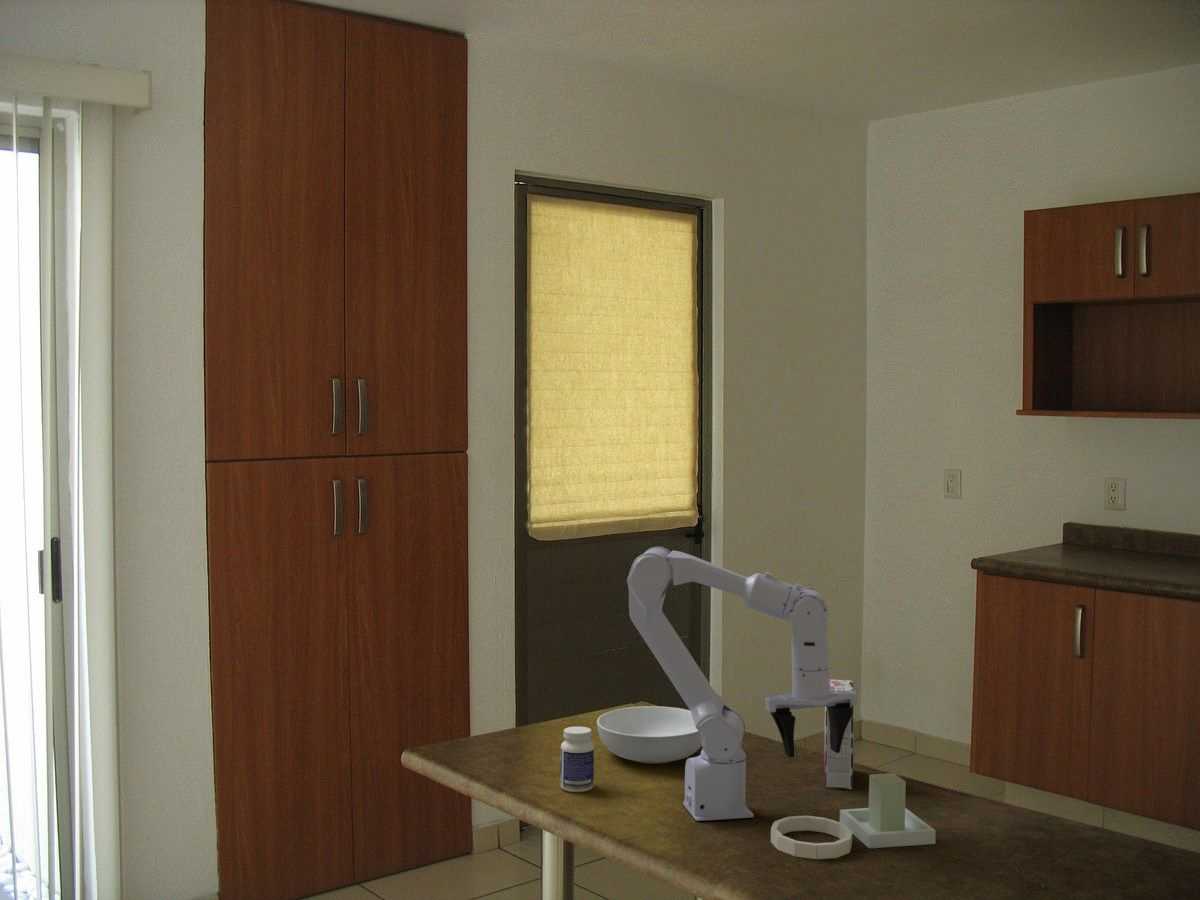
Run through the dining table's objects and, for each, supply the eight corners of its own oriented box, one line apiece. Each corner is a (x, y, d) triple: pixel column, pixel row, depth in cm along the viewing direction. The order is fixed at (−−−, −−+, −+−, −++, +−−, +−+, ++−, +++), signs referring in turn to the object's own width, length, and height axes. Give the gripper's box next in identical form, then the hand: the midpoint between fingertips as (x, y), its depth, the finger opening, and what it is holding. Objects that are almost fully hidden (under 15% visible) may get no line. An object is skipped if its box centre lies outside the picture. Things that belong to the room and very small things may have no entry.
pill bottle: (600, 789, 188) (601, 731, 188) (572, 795, 185) (572, 736, 185) (581, 780, 193) (582, 723, 193) (553, 786, 190) (554, 728, 190)
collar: (788, 861, 159) (788, 847, 159) (760, 831, 170) (761, 818, 170) (864, 855, 161) (864, 842, 161) (832, 826, 173) (832, 813, 173)
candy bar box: (823, 768, 201) (825, 678, 201) (851, 770, 200) (853, 679, 200) (823, 788, 190) (825, 693, 190) (853, 790, 189) (855, 695, 189)
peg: (880, 835, 168) (881, 783, 168) (868, 825, 172) (869, 774, 171) (904, 833, 169) (905, 781, 168) (892, 824, 173) (893, 773, 172)
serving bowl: (636, 733, 222) (637, 699, 222) (729, 753, 210) (729, 717, 209) (573, 759, 205) (574, 722, 205) (670, 782, 193) (670, 743, 192)
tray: (869, 848, 164) (869, 835, 164) (839, 822, 174) (839, 809, 174) (935, 843, 166) (935, 830, 166) (902, 818, 177) (902, 805, 177)
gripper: (775, 676, 170) (778, 764, 170) (864, 669, 173) (866, 756, 173) (759, 666, 177) (762, 751, 177) (845, 660, 180) (847, 743, 180)
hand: (812, 753), depth 176 cm, fingers open, 7 cm apart
